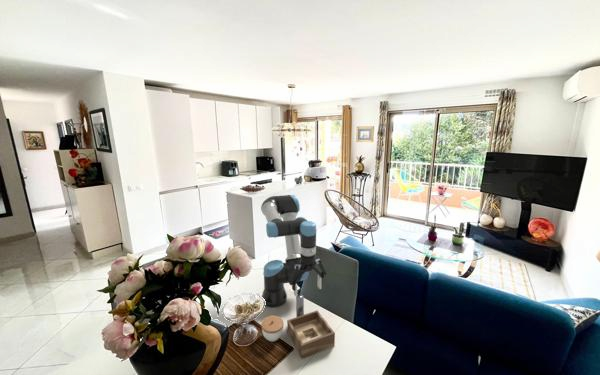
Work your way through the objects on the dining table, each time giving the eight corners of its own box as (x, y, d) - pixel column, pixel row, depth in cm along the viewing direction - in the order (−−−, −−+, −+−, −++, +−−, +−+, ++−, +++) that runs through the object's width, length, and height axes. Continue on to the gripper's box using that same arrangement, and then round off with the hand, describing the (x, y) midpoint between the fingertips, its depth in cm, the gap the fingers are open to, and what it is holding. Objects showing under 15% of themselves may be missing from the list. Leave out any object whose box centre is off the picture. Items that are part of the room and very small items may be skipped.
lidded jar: (280, 347, 116) (280, 330, 115) (258, 343, 119) (257, 326, 117) (286, 330, 127) (285, 314, 125) (266, 327, 129) (265, 311, 127)
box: (287, 332, 125) (287, 320, 124) (317, 321, 132) (317, 310, 131) (301, 359, 110) (301, 345, 109) (334, 345, 117) (334, 333, 116)
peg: (295, 318, 135) (294, 295, 132) (301, 315, 137) (301, 293, 134) (298, 323, 131) (298, 299, 129) (305, 320, 133) (304, 297, 130)
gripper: (287, 262, 112) (287, 303, 117) (334, 251, 122) (332, 288, 127) (281, 255, 118) (281, 294, 123) (325, 244, 129) (324, 280, 134)
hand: (307, 291), depth 125 cm, fingers open, 13 cm apart
